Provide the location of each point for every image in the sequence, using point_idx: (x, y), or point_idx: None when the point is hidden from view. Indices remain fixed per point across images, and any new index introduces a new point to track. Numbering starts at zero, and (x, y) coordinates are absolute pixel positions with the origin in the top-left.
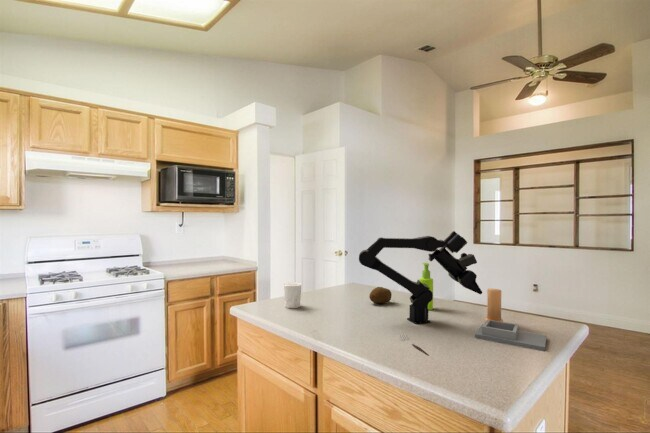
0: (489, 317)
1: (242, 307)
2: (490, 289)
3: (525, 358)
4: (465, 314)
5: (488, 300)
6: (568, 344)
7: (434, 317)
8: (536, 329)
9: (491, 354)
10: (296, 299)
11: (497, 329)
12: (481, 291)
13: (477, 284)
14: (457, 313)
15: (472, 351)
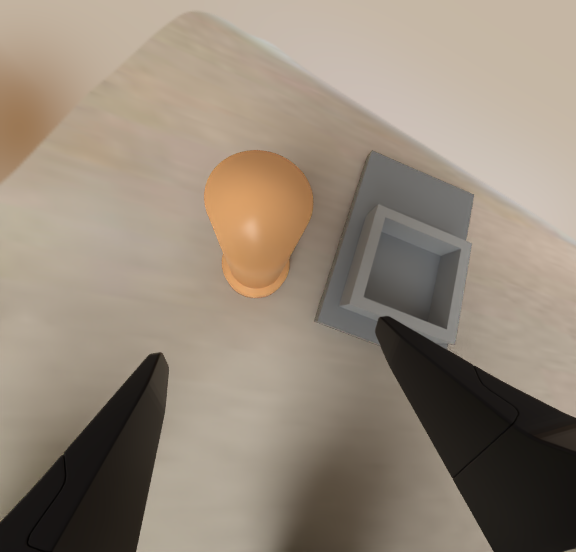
0: (273, 281)
1: None
2: (245, 222)
3: (530, 261)
4: (122, 365)
5: (274, 267)
6: (392, 125)
7: (212, 537)
8: (282, 149)
9: (543, 338)
10: None
11: (463, 293)
12: (400, 324)
13: (494, 377)
14: None
15: (547, 388)
